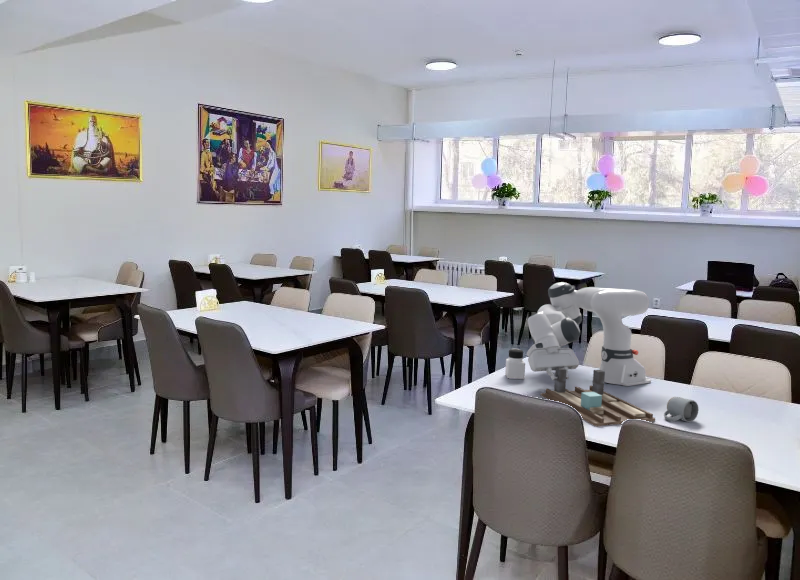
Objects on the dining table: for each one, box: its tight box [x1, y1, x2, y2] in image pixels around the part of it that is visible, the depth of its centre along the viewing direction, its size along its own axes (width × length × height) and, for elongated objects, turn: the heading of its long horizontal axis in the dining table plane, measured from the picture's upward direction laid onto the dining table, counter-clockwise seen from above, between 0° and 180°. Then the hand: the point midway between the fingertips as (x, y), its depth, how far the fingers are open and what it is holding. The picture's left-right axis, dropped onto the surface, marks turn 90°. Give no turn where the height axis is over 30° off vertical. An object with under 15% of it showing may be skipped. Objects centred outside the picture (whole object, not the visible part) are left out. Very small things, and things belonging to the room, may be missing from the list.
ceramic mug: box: [663, 396, 700, 423], centre depth 225 cm, size 11×8×8 cm
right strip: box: [553, 368, 604, 415], centre depth 236 cm, size 5×26×10 cm, turn 18°
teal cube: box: [581, 392, 602, 410], centre depth 228 cm, size 5×5×5 cm
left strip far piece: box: [610, 401, 646, 417], centre depth 230 cm, size 5×14×1 cm, turn 18°
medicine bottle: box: [504, 348, 526, 380], centre depth 275 cm, size 7×7×12 cm
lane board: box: [540, 385, 656, 427], centre depth 236 cm, size 24×36×3 cm, turn 18°
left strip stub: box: [591, 369, 617, 402], centre depth 242 cm, size 5×10×10 cm, turn 18°
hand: (560, 379), depth 246 cm, fingers open, 3 cm apart
